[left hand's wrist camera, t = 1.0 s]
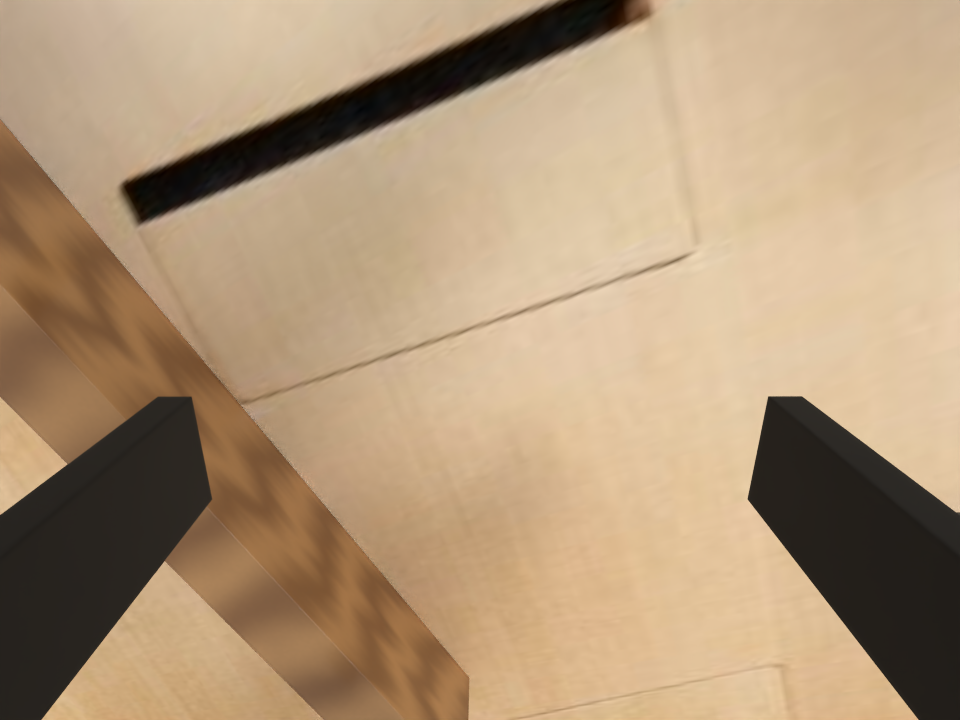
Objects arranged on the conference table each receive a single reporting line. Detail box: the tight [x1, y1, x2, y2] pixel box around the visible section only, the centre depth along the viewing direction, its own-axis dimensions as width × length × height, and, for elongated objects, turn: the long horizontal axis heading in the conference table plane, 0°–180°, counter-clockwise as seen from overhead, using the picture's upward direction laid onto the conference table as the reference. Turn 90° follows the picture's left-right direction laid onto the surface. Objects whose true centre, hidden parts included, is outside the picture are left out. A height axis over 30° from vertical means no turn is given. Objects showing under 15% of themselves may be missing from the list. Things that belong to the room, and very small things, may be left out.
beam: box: [0, 120, 469, 720], centre depth 34 cm, size 66×5×9 cm, turn 31°
